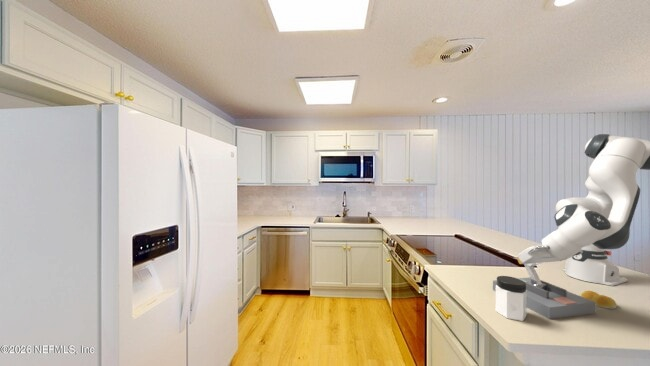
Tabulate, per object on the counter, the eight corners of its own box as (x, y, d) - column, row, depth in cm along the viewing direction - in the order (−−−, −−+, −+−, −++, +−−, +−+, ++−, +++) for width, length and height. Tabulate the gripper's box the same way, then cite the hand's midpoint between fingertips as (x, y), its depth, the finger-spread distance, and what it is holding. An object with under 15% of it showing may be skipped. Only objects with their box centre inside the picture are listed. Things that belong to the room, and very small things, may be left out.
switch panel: (531, 286, 106) (531, 271, 105) (595, 313, 84) (595, 295, 84) (492, 289, 102) (493, 274, 102) (549, 319, 80) (549, 300, 80)
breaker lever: (542, 290, 94) (525, 256, 101) (550, 289, 91) (532, 254, 98) (531, 291, 93) (515, 257, 100) (539, 290, 90) (522, 255, 97)
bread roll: (610, 311, 85) (610, 300, 85) (576, 300, 94) (576, 290, 94) (621, 307, 88) (621, 296, 88) (588, 296, 97) (588, 286, 97)
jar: (499, 317, 81) (499, 282, 81) (492, 305, 89) (492, 274, 89) (531, 323, 78) (532, 287, 78) (521, 310, 86) (521, 277, 86)
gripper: (542, 255, 82) (515, 273, 91) (586, 252, 86) (555, 270, 95) (529, 239, 86) (503, 258, 96) (571, 237, 91) (543, 256, 100)
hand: (530, 264), depth 96 cm, fingers closed, pressing on breaker lever
